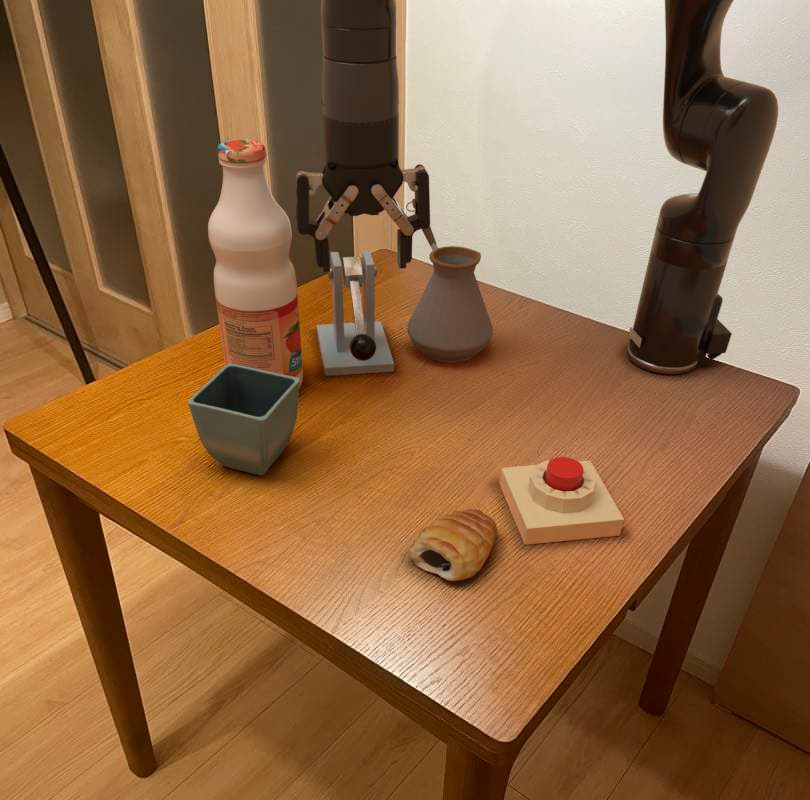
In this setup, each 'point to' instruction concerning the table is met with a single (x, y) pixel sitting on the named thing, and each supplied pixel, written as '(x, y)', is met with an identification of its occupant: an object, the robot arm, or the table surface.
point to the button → (564, 474)
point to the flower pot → (246, 416)
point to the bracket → (352, 326)
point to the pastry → (455, 544)
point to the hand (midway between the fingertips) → (364, 267)
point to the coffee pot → (450, 306)
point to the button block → (559, 506)
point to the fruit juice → (254, 266)
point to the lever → (357, 309)
